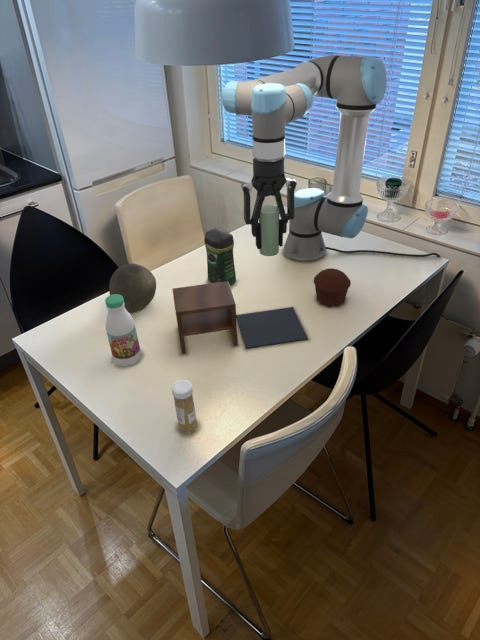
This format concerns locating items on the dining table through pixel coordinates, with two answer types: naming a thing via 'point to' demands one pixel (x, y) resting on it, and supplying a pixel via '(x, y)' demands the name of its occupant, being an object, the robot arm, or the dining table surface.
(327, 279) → the muffin
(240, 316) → the felt mat
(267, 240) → the canister
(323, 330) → the dining table surface
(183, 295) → the wooden side table
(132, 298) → the dimpled grey orange
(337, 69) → the robot arm
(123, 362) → the milk bottle
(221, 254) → the coffee jar
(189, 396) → the sprinkles bottle
